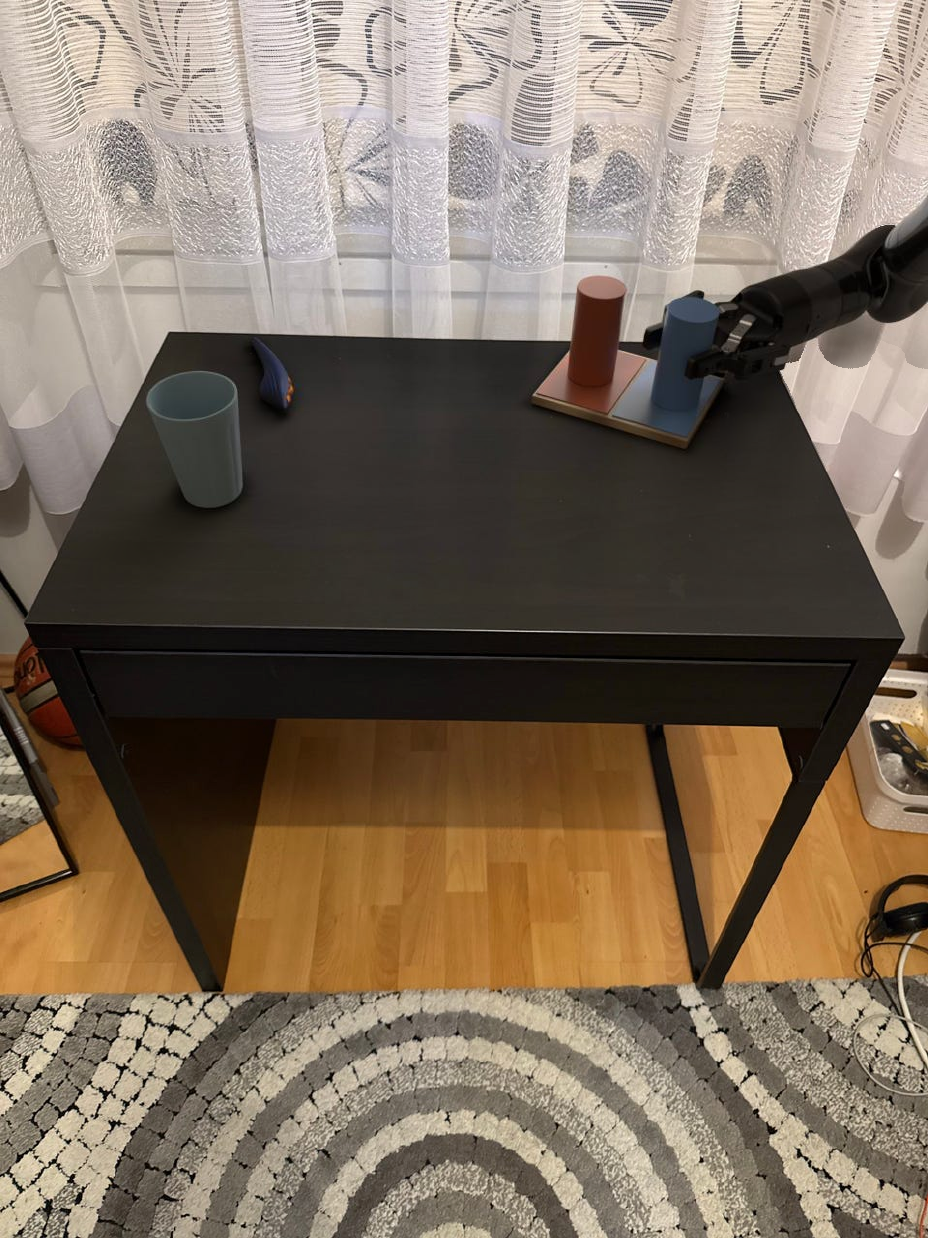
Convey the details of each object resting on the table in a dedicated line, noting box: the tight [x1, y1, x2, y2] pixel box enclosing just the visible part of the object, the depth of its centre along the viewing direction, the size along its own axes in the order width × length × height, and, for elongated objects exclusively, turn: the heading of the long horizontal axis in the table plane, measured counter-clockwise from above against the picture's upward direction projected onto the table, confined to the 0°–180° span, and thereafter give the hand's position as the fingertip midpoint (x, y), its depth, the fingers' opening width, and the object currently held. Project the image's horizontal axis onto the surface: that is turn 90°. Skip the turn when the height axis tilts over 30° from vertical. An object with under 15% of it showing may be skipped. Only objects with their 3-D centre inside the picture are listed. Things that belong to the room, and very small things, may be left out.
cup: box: [145, 370, 244, 509], centre depth 84 cm, size 8×8×10 cm
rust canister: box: [567, 275, 628, 387], centre depth 97 cm, size 5×5×10 cm
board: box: [531, 349, 725, 450], centre depth 100 cm, size 17×13×1 cm
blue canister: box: [651, 296, 719, 411], centre depth 94 cm, size 5×5×10 cm
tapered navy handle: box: [250, 336, 294, 411], centre depth 100 cm, size 16×4×2 cm, turn 20°
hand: (667, 354), depth 92 cm, fingers open, 5 cm apart
